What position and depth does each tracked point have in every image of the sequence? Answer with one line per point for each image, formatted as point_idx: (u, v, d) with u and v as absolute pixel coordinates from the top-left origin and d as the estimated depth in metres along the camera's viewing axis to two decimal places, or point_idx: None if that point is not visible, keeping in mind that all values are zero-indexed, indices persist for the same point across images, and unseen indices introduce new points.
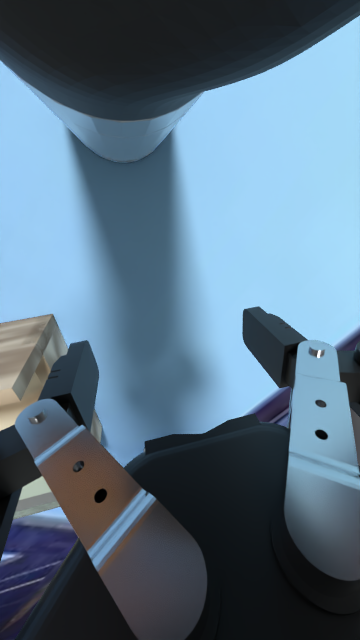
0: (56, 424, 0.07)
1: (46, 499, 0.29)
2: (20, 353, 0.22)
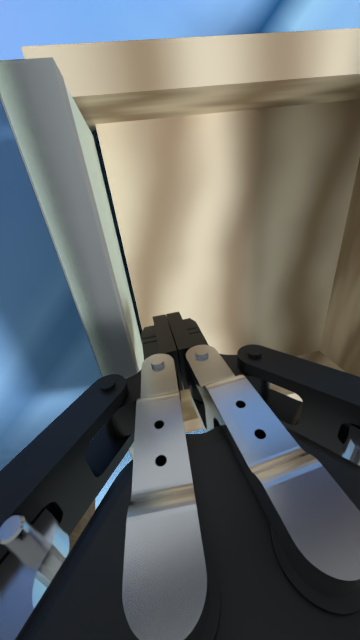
0: (165, 379, 0.08)
1: None
2: None
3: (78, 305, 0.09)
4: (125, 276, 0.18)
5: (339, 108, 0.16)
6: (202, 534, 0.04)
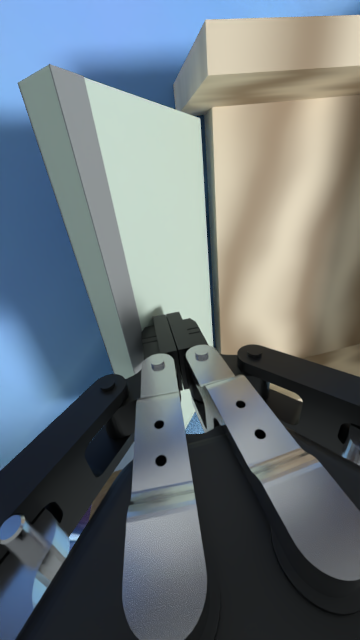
0: (165, 379, 0.08)
1: None
2: None
3: (88, 291, 0.11)
4: (200, 269, 0.17)
5: None
6: (202, 534, 0.04)
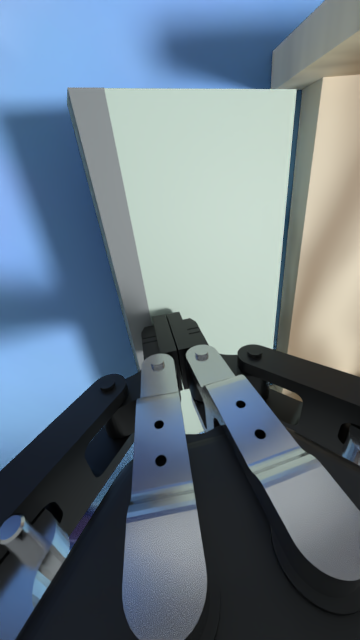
0: (165, 379, 0.08)
1: None
2: None
3: None
4: (261, 276, 0.15)
5: None
6: (202, 534, 0.04)
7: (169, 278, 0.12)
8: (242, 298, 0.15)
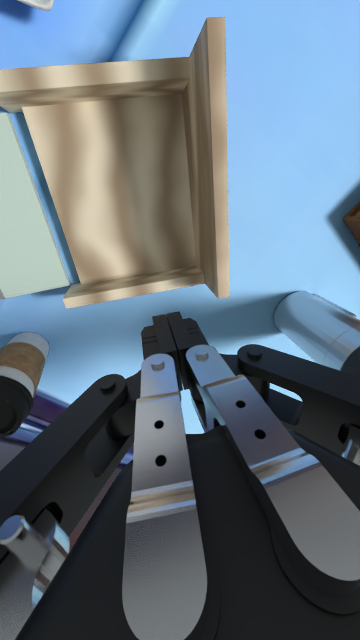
0: (165, 379, 0.08)
1: None
2: None
3: None
4: (25, 201, 0.30)
5: (163, 99, 0.28)
6: (202, 534, 0.04)
7: None
8: (17, 212, 0.30)
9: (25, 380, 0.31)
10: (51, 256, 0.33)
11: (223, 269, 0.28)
